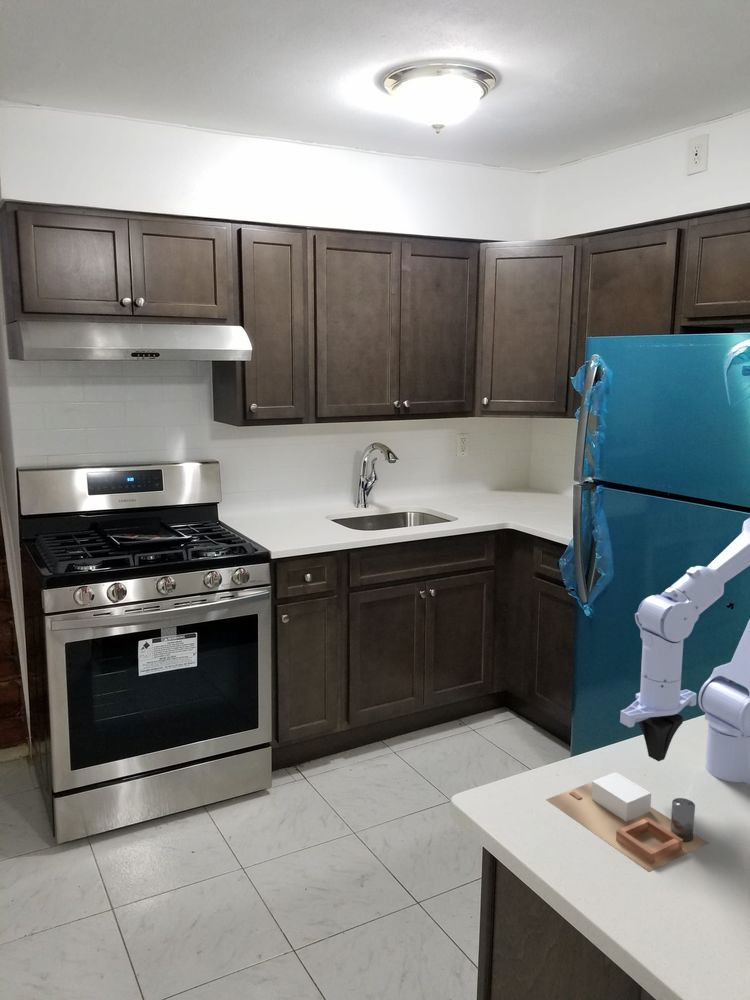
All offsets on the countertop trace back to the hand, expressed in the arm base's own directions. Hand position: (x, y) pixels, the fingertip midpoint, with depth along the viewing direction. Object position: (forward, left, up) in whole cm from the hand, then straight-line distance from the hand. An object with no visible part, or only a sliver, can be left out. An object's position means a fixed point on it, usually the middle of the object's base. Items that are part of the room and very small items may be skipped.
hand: (656, 757), depth 123 cm
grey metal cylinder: (+6, +10, -6) cm, 13 cm away
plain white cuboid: (+7, 0, -6) cm, 9 cm away
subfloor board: (+10, +3, -7) cm, 12 cm away
